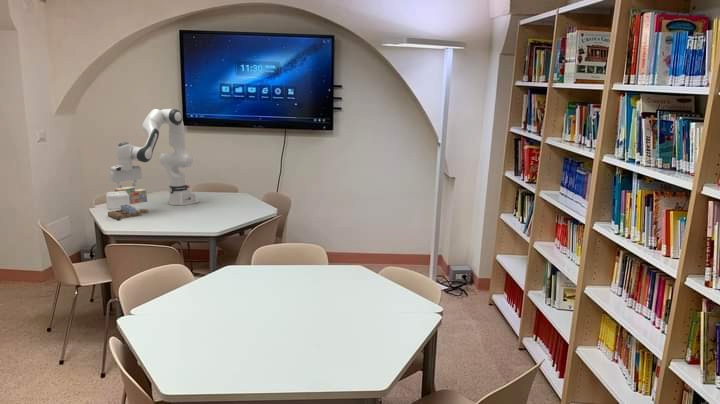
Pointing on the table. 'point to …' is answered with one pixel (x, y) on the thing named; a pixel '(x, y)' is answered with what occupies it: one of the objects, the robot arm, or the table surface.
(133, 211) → the strip
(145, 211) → the block
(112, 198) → the cable organizer
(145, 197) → the stack of blocks
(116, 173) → the robot arm
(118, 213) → the board
